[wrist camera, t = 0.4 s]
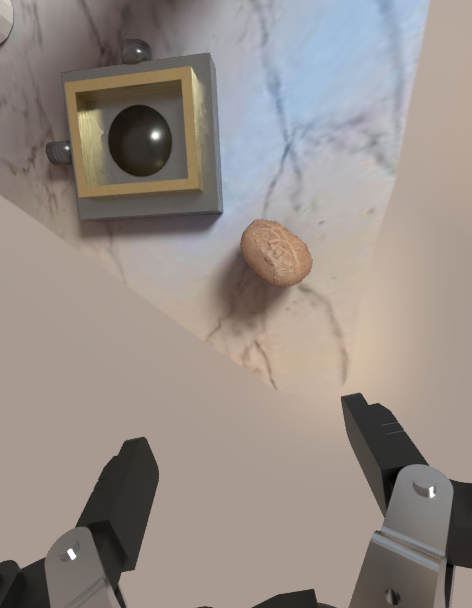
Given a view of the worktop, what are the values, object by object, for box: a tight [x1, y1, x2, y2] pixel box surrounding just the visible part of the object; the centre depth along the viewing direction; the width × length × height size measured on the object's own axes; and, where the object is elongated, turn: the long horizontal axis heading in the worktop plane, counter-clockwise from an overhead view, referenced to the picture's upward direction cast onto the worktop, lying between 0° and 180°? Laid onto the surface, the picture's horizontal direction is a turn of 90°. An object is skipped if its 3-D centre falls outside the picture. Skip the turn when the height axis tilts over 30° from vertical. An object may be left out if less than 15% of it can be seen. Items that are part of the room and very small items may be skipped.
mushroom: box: [240, 219, 313, 287], centre depth 33 cm, size 8×6×8 cm
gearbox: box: [46, 39, 223, 221], centre depth 35 cm, size 17×19×5 cm
